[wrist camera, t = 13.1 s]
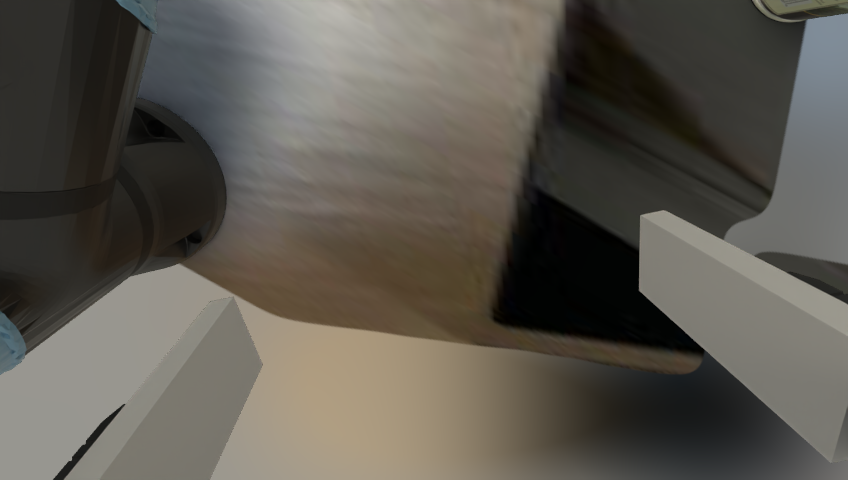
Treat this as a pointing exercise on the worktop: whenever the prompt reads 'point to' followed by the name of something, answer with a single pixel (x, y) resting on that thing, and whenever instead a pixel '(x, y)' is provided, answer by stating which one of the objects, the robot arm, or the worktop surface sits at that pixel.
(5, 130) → the robot arm
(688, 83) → the worktop surface
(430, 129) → the worktop surface
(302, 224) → the worktop surface
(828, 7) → the coffee can
